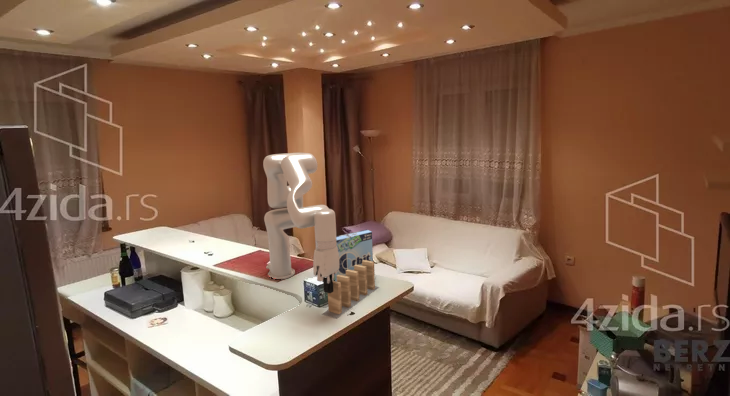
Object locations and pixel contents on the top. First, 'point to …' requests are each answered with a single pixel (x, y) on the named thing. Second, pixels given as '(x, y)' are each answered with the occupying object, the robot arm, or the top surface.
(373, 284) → the wooden domino
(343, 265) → the gum box
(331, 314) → the mat
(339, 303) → the tile
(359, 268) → the tile
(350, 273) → the tile
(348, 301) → the tile
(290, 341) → the top surface
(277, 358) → the top surface
